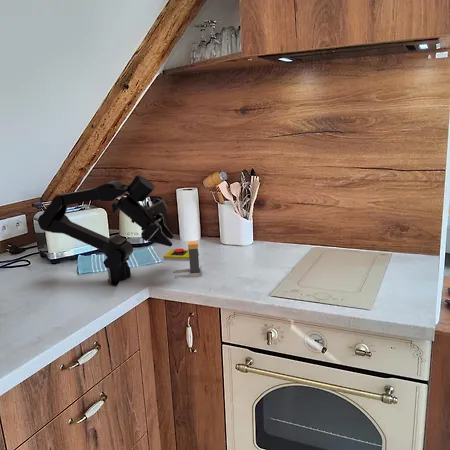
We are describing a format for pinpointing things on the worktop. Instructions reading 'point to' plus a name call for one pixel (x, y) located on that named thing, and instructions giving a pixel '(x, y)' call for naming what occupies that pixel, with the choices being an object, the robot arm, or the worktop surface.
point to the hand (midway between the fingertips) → (172, 241)
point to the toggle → (193, 257)
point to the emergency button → (177, 255)
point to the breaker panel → (186, 274)
